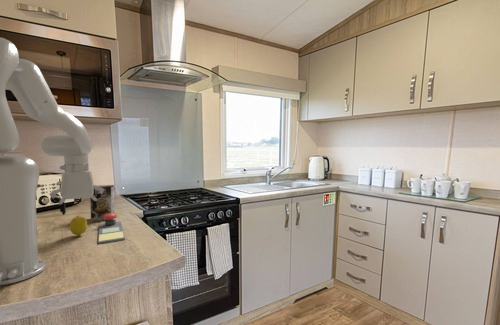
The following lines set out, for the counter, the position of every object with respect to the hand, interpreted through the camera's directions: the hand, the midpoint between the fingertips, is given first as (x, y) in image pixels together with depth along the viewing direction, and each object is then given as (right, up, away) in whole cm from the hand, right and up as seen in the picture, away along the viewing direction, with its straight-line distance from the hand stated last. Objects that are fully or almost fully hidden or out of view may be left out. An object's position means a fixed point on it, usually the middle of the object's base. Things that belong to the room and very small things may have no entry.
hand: (79, 212), depth 97 cm
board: (+10, -9, +4) cm, 14 cm away
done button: (+5, -5, +12) cm, 14 cm away
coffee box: (-5, -8, +24) cm, 26 cm away
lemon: (0, -9, 0) cm, 9 cm away
